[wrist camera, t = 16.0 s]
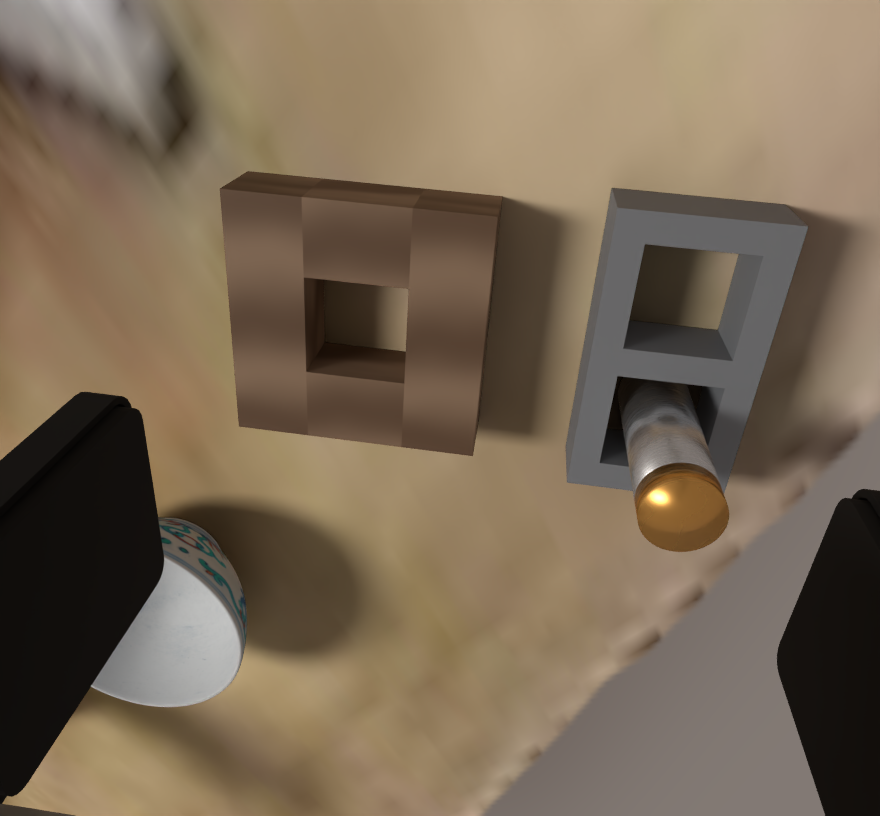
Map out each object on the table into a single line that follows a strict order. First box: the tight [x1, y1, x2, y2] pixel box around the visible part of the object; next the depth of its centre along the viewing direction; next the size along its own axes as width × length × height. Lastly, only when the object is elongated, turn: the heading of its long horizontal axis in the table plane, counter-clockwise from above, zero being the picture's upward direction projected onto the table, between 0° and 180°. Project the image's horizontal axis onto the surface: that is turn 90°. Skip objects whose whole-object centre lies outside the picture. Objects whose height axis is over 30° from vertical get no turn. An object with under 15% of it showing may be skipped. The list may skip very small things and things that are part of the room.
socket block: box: [220, 171, 502, 456], centre depth 42 cm, size 14×14×4 cm
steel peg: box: [618, 377, 729, 552], centre depth 39 cm, size 4×4×12 cm
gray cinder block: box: [566, 188, 808, 494], centre depth 41 cm, size 16×9×4 cm, turn 176°
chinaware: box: [91, 517, 247, 707], centre depth 53 cm, size 15×15×8 cm
